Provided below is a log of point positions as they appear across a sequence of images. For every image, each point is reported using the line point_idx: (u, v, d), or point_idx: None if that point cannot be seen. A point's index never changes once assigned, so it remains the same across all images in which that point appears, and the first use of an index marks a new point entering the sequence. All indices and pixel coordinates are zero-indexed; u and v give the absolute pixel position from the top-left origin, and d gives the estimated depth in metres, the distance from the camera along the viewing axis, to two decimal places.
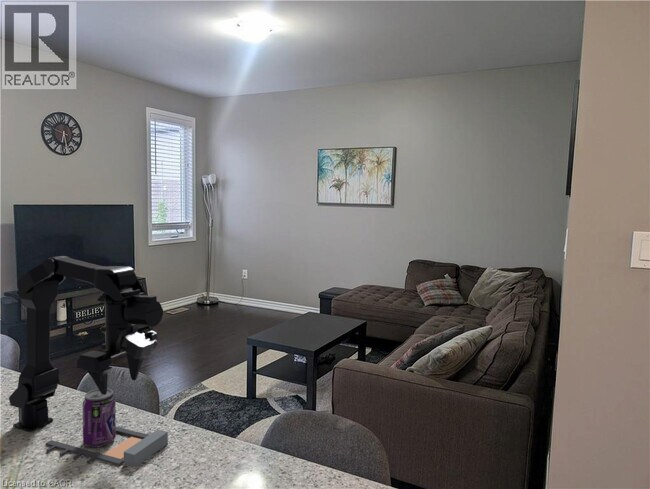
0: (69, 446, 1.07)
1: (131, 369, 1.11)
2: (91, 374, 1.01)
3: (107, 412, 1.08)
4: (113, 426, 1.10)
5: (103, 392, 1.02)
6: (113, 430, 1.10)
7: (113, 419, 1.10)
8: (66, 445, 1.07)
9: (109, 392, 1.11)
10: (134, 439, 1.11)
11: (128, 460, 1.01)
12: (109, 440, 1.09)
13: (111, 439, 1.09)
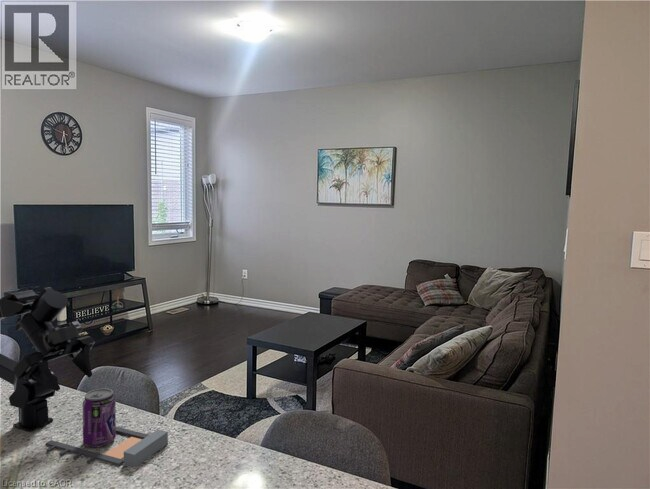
0: (69, 446, 1.07)
1: (83, 370, 1.17)
2: (37, 380, 1.07)
3: (107, 412, 1.08)
4: (113, 426, 1.10)
5: (56, 387, 1.07)
6: (113, 430, 1.10)
7: (112, 419, 1.09)
8: (66, 445, 1.07)
9: (109, 392, 1.11)
10: (134, 439, 1.11)
11: (128, 460, 1.01)
12: (109, 440, 1.09)
13: (111, 439, 1.09)
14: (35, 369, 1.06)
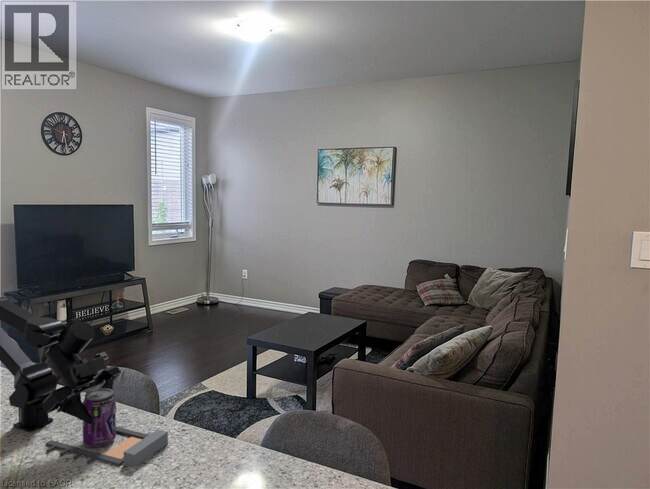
0: (69, 446, 1.07)
1: None
2: (70, 412, 1.06)
3: (107, 412, 1.08)
4: (113, 426, 1.10)
5: (89, 420, 1.06)
6: (113, 430, 1.10)
7: (113, 418, 1.10)
8: (66, 445, 1.07)
9: (109, 392, 1.11)
10: (134, 439, 1.11)
11: (128, 460, 1.01)
12: (109, 440, 1.09)
13: (111, 439, 1.09)
14: (68, 402, 1.04)
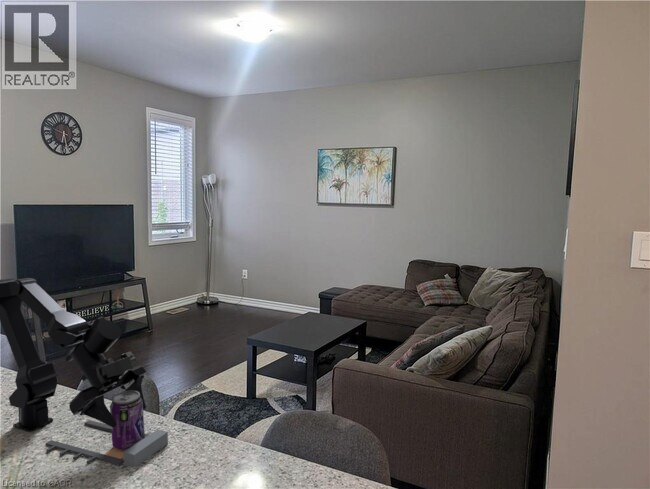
0: (69, 446, 1.07)
1: None
2: (92, 416, 1.02)
3: (135, 415, 1.06)
4: (142, 428, 1.08)
5: (113, 424, 1.02)
6: (142, 432, 1.08)
7: (141, 421, 1.08)
8: (66, 445, 1.07)
9: (136, 394, 1.09)
10: None
11: (128, 460, 1.01)
12: None
13: None
14: (91, 405, 1.01)
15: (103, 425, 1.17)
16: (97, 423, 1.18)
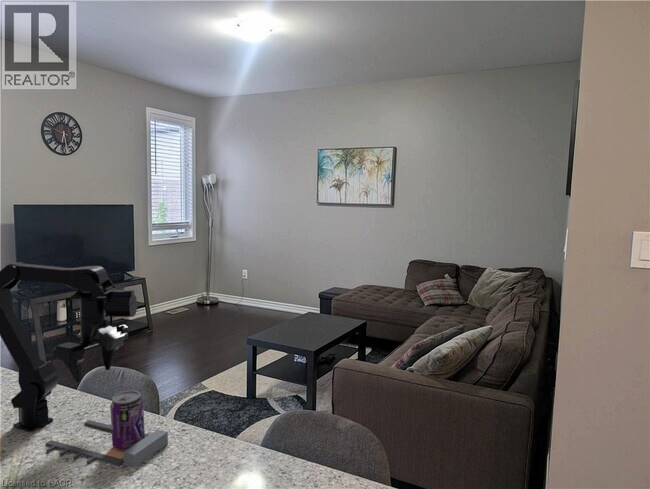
0: (69, 446, 1.07)
1: (105, 360, 1.22)
2: (66, 363, 1.12)
3: (135, 415, 1.06)
4: (142, 428, 1.08)
5: (77, 380, 1.13)
6: (142, 432, 1.08)
7: (141, 421, 1.08)
8: (66, 445, 1.07)
9: (136, 394, 1.09)
10: None
11: (128, 460, 1.01)
12: None
13: None
14: None
15: (103, 425, 1.17)
16: (97, 423, 1.18)
